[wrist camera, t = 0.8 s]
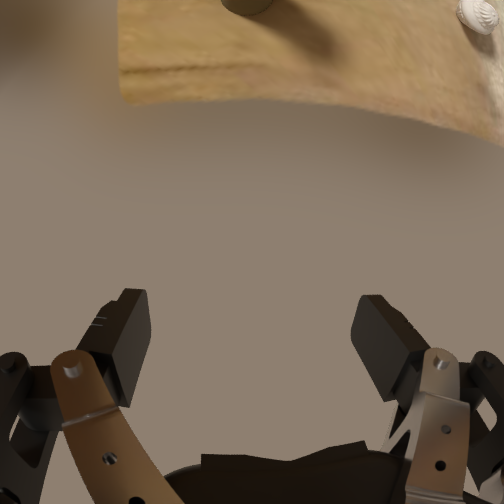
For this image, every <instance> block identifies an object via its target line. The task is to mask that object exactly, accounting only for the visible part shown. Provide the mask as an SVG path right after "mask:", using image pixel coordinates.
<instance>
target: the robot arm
mask: <svg viewBox="0 0 504 504" xmlns="http://www.w3.org/2000/svg"><path fill="white" fill-rule="evenodd" d="M150 338H151V322H150V315H149V307H148V299H147V293H146V290H143V289H130V288H125V289H124V290H123V292H122V294H121V295H120V297H119V299H118V300H117V301H110V302H109V303H107V304H106V305H104V306H103V307H102V308H101V309H100V311H99V312H98V314H97V315H96V318H94V320H93V322H92V323H91V325H90V326H89V328H88V330H87V331H86V333H85V335H84V336H83V338H82V339H81V341H80V343H79V345H78V346H77V348H76V349H75V350H69V351H65V352H63V353H61V354H59V355H58V356H57V357H56V358H55V359H54V360H53V361H52V363H51V365H48V366H30V365H29V363H28V361H27V358H26V357H25V356H24V355H23V354H21V353H19V352H9V353H6V354H3V355H2V356H0V504H39V501H40V496H41V492H42V488H43V484H44V479H45V475H46V472H47V468H48V465H49V461H50V457H51V454H52V451H53V447H54V444H55V441H56V438H57V435H58V432H59V431H63V432H64V436H65V438H66V441H67V444H68V446H69V449H70V451H71V454H72V457H73V459H74V461H75V464H76V466H77V468H78V471H79V473H80V475H81V477H82V479H83V482H84V484H85V485H86V488H87V490H88V492H89V494H90V496H91V498H92V500H93V501H94V503H95V504H504V365H503V364H502V362H501V361H500V360H499V359H498V358H497V357H496V356H495V355H493V354H492V353H489V352H487V351H479V352H477V353H476V354H475V355H474V357H473V359H472V361H471V363H464V362H458V360H457V358H456V357H455V356H454V355H453V354H452V353H450V352H449V351H447V350H445V349H442V348H431V347H430V346H429V345H428V344H427V342H426V341H425V340H424V339H423V337H422V336H421V335H420V334H419V333H418V332H417V330H416V329H414V328H413V326H412V325H411V323H410V322H408V320H407V319H406V318H405V316H404V315H403V314H402V313H401V312H399V311H398V310H396V309H395V308H393V307H392V306H391V305H390V304H389V303H388V302H387V301H386V300H385V299H384V297H383V296H382V295H363V296H361V298H360V300H359V303H358V307H357V310H356V314H355V317H354V321H353V324H352V327H351V341H352V343H353V345H354V347H355V349H356V351H357V352H358V354H359V356H360V358H361V360H362V362H363V363H364V365H365V367H366V369H367V371H368V373H369V375H370V376H371V378H372V380H373V382H374V384H375V386H376V388H377V390H378V392H379V394H380V396H381V398H382V399H383V401H384V402H387V401H391V400H395V399H396V400H397V401H398V403H397V405H396V407H395V408H394V411H393V415H392V418H391V421H390V425H389V428H388V431H387V434H386V437H385V440H384V443H383V446H382V448H381V450H380V451H374V450H368V449H367V446H366V444H365V441H359V442H354V443H350V444H344V445H339V446H333V447H328V448H326V449H323V450H320V451H318V452H315V453H312V454H310V455H307V456H304V457H301V458H298V459H296V460H292V461H282V460H274V459H266V458H260V457H255V456H248V455H218V454H201V464H198V465H192V466H188V467H184V468H181V469H179V470H176V471H173V472H171V473H169V474H167V475H165V476H164V477H163V476H162V474H161V473H160V472H159V470H158V469H157V467H156V466H155V465H154V463H153V462H152V460H151V459H150V457H149V456H148V454H147V453H146V451H145V450H144V449H143V447H142V445H141V444H140V442H139V441H138V439H137V437H136V436H135V434H134V433H133V431H132V429H131V428H130V426H129V424H128V422H127V421H126V419H125V417H124V416H123V414H122V412H121V410H120V409H119V407H118V406H121V407H128V408H129V407H130V404H131V400H132V397H133V394H134V390H135V387H136V383H137V380H138V377H139V374H140V370H141V367H142V364H143V361H144V358H145V355H146V352H147V348H148V346H149V343H150ZM484 398H486V399H487V401H488V402H489V404H490V405H491V407H492V408H493V410H494V411H495V413H496V415H497V422H496V425H495V426H494V428H493V429H492V430H491V431H489V429H488V428H487V426H486V424H485V423H484V421H483V419H482V418H481V416H480V415H479V413H478V411H477V410H476V409H477V408H478V406H479V405H480V404H481V402H482V401H483V399H484ZM17 415H18V416H19V417H20V419H19V421H18V423H17V425H16V428H15V430H14V433H13V435H12V437H11V440H10V441H9V435H10V431H11V428H12V426H13V424H14V422H15V419H16V417H17ZM466 467H468V469H469V471H470V473H471V475H472V478H473V480H474V482H475V484H476V487H477V489H478V491H479V496H478V497H476V496H474V495H472V494H470V493H467V492H465V491H463V488H464V482H465V475H466Z"/></svg>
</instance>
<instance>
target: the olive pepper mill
mask: <svg viewBox="0 0 504 504" xmlns="http://www.w3.org/2000/svg"><path fill="white" fill-rule="evenodd" d="M221 2H222V4H223V5H224V6H225V7H226V8H227V9H228V10H229V11H231V12H233V13H235V14H240V15H254V14H257V13H260V12H262V11H264V10H265V9H267V8H268V7H269V5H270V4H271V3H272V0H221Z"/></svg>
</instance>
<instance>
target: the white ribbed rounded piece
mask: <svg viewBox="0 0 504 504" xmlns="http://www.w3.org/2000/svg"><path fill="white" fill-rule="evenodd" d="M456 14H457V17H458V18H459V19H460V21H461V22H462V23H464V24H465V25H466V26H468V27H469V28H471V29H472V30H474V31H476V32H478V33H481V34H484V35H488V34H490V33H491V32H492V31H493V30H494V27H495V26H497V24H498V23H499V17H498V14H497V11H496V10H495V8H494V7H492V6H491V5H490V4H488V3H487V2H485V1H484V0H460V1H459V3H458V5H457V6H456Z"/></svg>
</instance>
